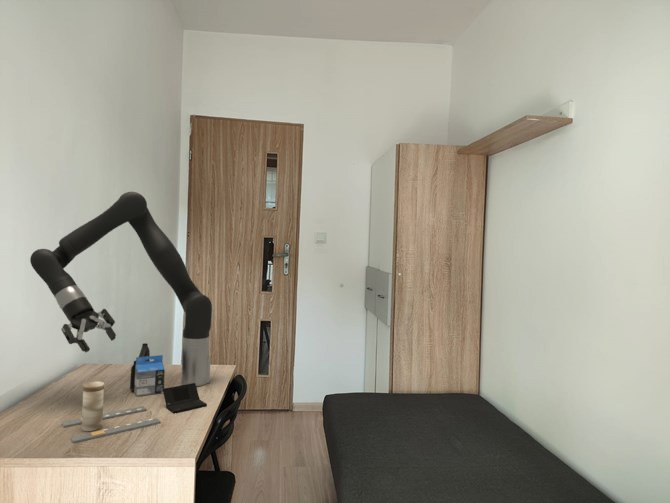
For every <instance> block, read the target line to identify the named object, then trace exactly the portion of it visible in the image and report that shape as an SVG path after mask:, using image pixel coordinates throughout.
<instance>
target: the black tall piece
mask: <svg viewBox="0 0 670 503" xmlns="http://www.w3.org/2000/svg"><path fill="white" fill-rule="evenodd" d="M141 345H142V346H141V349H140V352H139V355H138V357H146V356H151V355H150V348H149V347H148V343H147V342H146V343H145V342H144V343H142V344H141ZM147 361H151V359H148V360H145V362H147ZM135 366H136V360H134V361H133V365H132V366H131V368H130V380H129V390H133V391H134V388H135Z"/></svg>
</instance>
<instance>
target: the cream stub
mask: <svg viewBox="0 0 670 503" xmlns="http://www.w3.org/2000/svg"><path fill="white" fill-rule="evenodd" d="M104 390H105V382H103V381H98V380H97V381H96V380H95V381H89V382H85V383H83V386H82V412H81V414H82V415H81V418H82V424H81V431H84V432H95V431H99V430H100V429H102V428H103V421H104V419H103V414H104Z"/></svg>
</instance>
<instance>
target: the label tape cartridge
mask: <svg viewBox="0 0 670 503" xmlns="http://www.w3.org/2000/svg"><path fill="white" fill-rule="evenodd" d="M163 358H164V357H163V354H161V355H159V354H158V355H150V356H146V357H139V356H136V357H135V361H136V366H135V388H134V390H133V391H134V395H135V396H136V397H141V396H142V397H143V396H149V395H156V394H163V389H165V374H166V372H165V366H164V362H163ZM148 359H150V361H147V362H145V360H148Z"/></svg>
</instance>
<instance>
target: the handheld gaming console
mask: <svg viewBox="0 0 670 503" xmlns="http://www.w3.org/2000/svg"><path fill="white" fill-rule="evenodd" d="M197 387H198V386H196V384H195V383H191V384H186V385H182V384H181V385H177V386H171V387H167V388H165V387H164V389H163V393H162V394H163V397H164V402H165V405H166V407H165V409H166V410H168V411H170V412H171V413H172V414H174V415H175V413H176V414H179V413H184V412H188V411H193V410H197V409H201V408H206V407H207V405H208V404H207V402H205V401H203V400H201V398H200V395H199V392H198V388H197Z"/></svg>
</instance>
